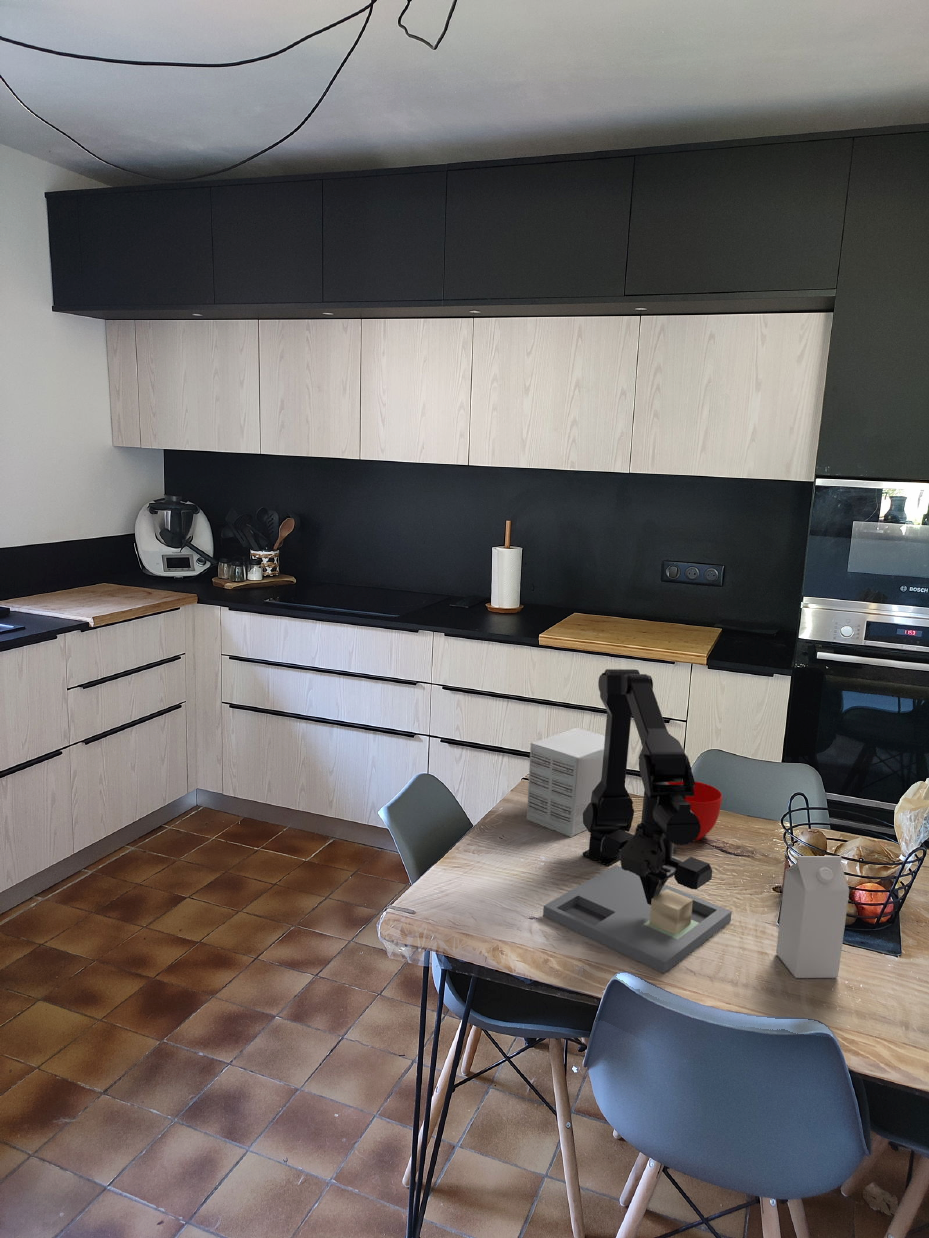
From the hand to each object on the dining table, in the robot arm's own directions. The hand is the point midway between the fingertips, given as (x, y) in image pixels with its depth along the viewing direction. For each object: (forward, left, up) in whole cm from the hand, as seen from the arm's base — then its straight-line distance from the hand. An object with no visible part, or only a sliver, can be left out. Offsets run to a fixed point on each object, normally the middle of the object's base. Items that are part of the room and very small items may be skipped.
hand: (650, 903), depth 151 cm
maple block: (0, +4, -2) cm, 5 cm away
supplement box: (-28, -37, -4) cm, 46 cm away
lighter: (-32, +14, -4) cm, 35 cm away
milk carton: (-8, +24, -4) cm, 26 cm away
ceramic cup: (-38, -14, -4) cm, 41 cm away
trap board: (-1, -3, -4) cm, 5 cm away
